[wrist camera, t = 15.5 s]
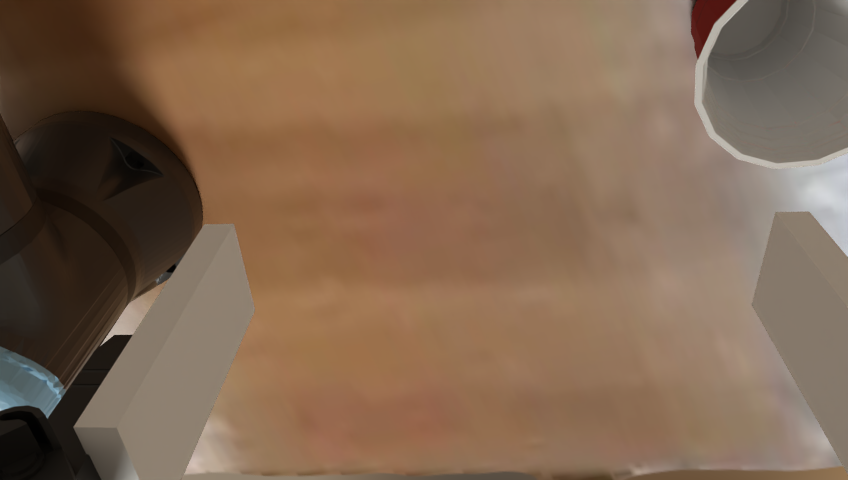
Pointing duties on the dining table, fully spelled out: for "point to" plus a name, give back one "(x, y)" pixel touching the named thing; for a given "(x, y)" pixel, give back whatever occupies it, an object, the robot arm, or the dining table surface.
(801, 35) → the plastic cup
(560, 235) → the dining table surface
